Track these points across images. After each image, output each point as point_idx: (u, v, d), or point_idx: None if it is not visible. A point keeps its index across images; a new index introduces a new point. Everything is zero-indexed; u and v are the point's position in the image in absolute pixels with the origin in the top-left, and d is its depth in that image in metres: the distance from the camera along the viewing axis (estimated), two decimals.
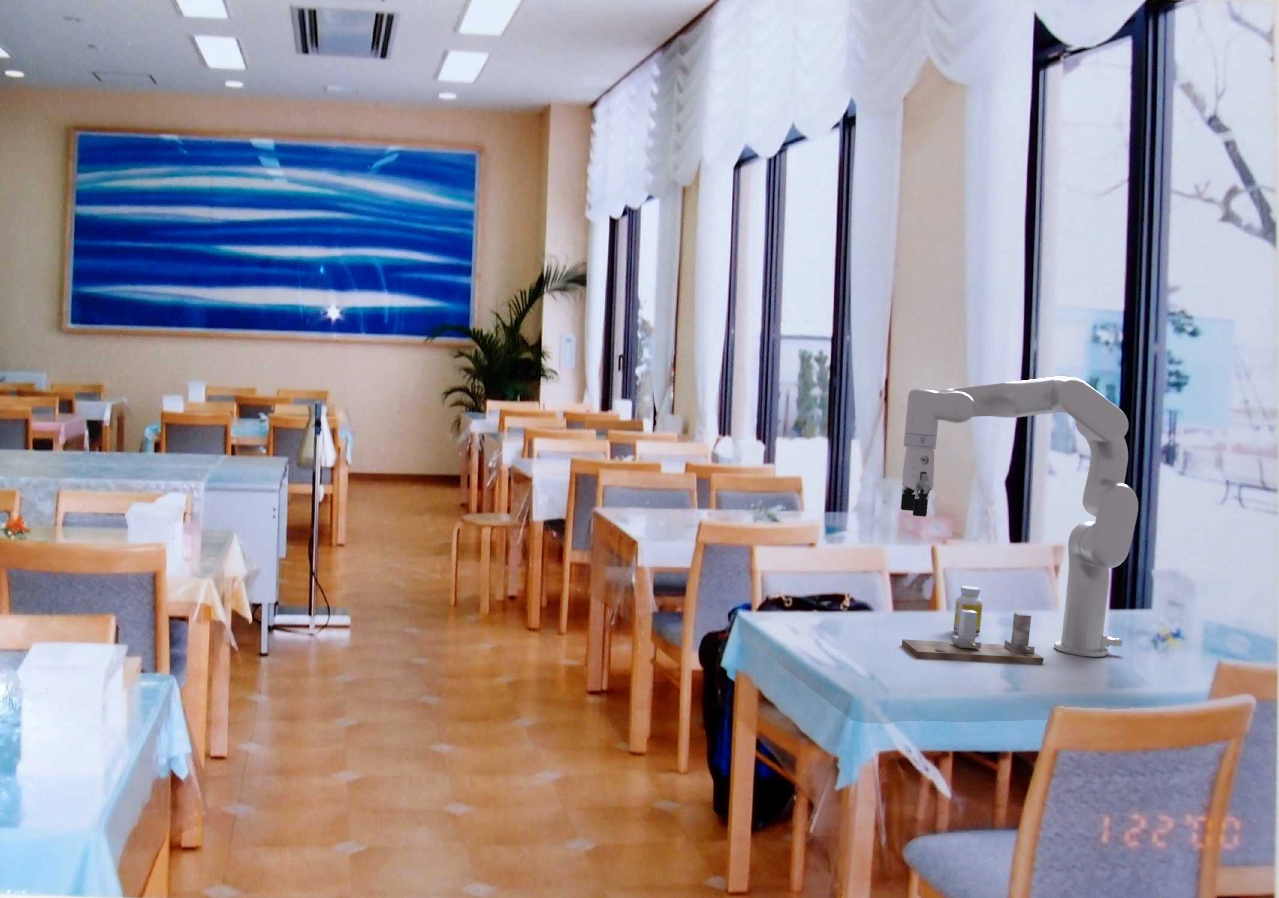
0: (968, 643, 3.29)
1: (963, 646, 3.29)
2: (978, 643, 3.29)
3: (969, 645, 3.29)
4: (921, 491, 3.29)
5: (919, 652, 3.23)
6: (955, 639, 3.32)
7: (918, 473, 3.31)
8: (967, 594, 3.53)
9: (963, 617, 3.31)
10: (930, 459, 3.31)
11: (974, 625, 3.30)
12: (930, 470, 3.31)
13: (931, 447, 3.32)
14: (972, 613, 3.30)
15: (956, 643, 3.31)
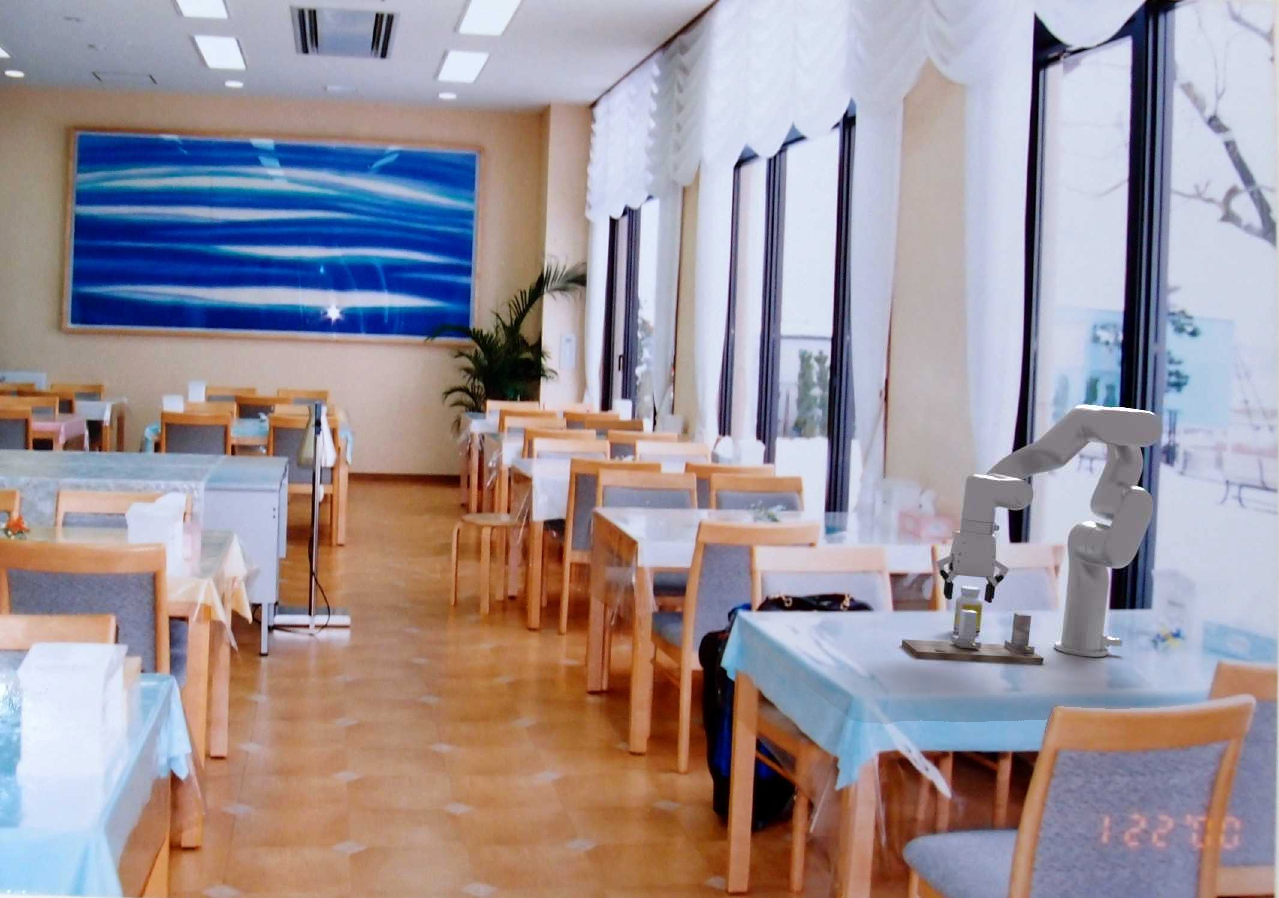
0: (968, 643, 3.29)
1: (963, 646, 3.29)
2: (978, 643, 3.29)
3: (969, 645, 3.29)
4: (1002, 577, 3.31)
5: (919, 652, 3.23)
6: (955, 639, 3.32)
7: None
8: (967, 594, 3.53)
9: (963, 617, 3.31)
10: None
11: (974, 625, 3.30)
12: None
13: None
14: (972, 613, 3.30)
15: (956, 643, 3.31)
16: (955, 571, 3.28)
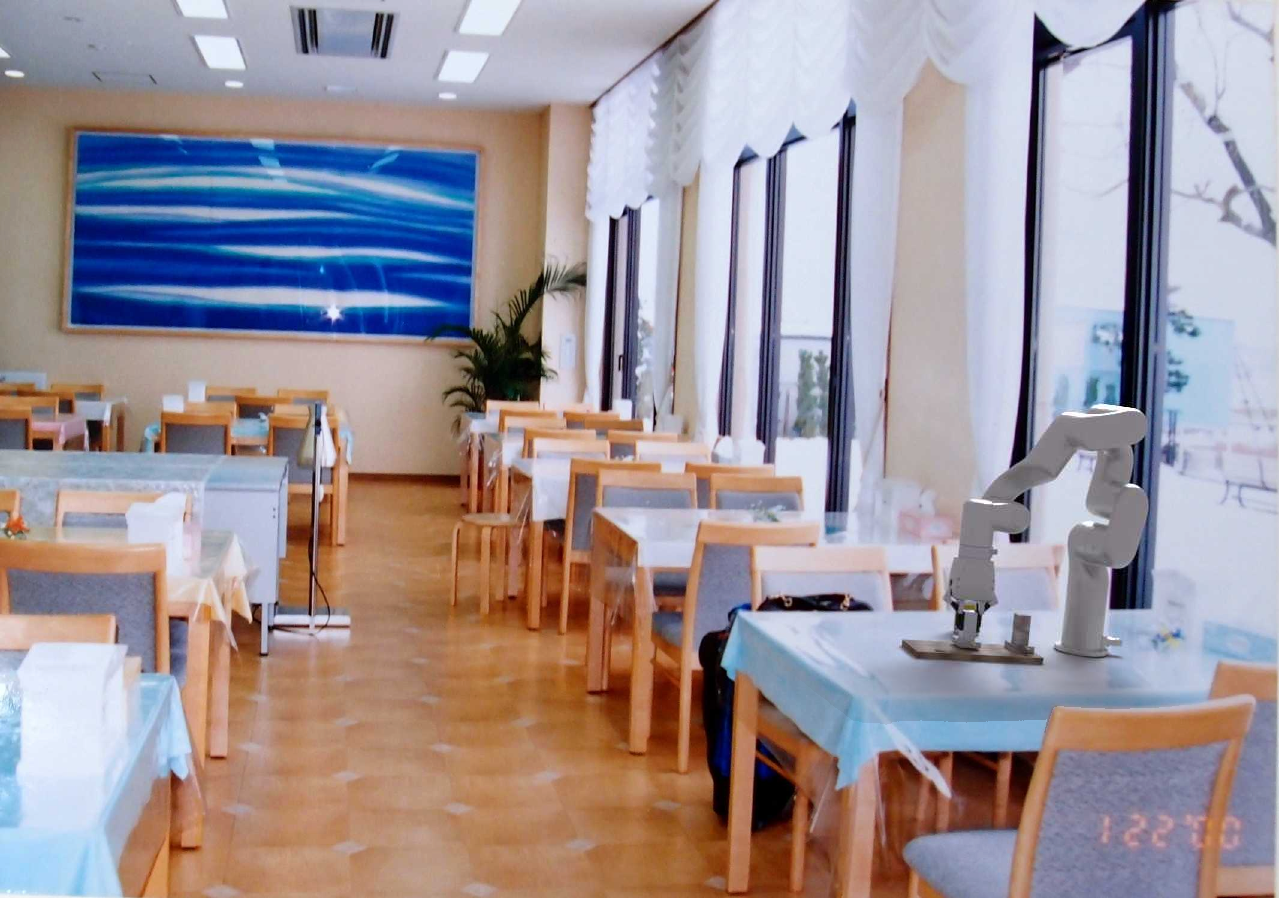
0: (968, 643, 3.29)
1: (963, 646, 3.29)
2: (978, 643, 3.29)
3: (969, 645, 3.29)
4: (989, 606, 3.31)
5: (919, 652, 3.23)
6: (955, 639, 3.32)
7: None
8: None
9: None
10: None
11: (974, 625, 3.30)
12: None
13: None
14: (972, 613, 3.30)
15: (956, 643, 3.31)
16: (954, 596, 3.29)
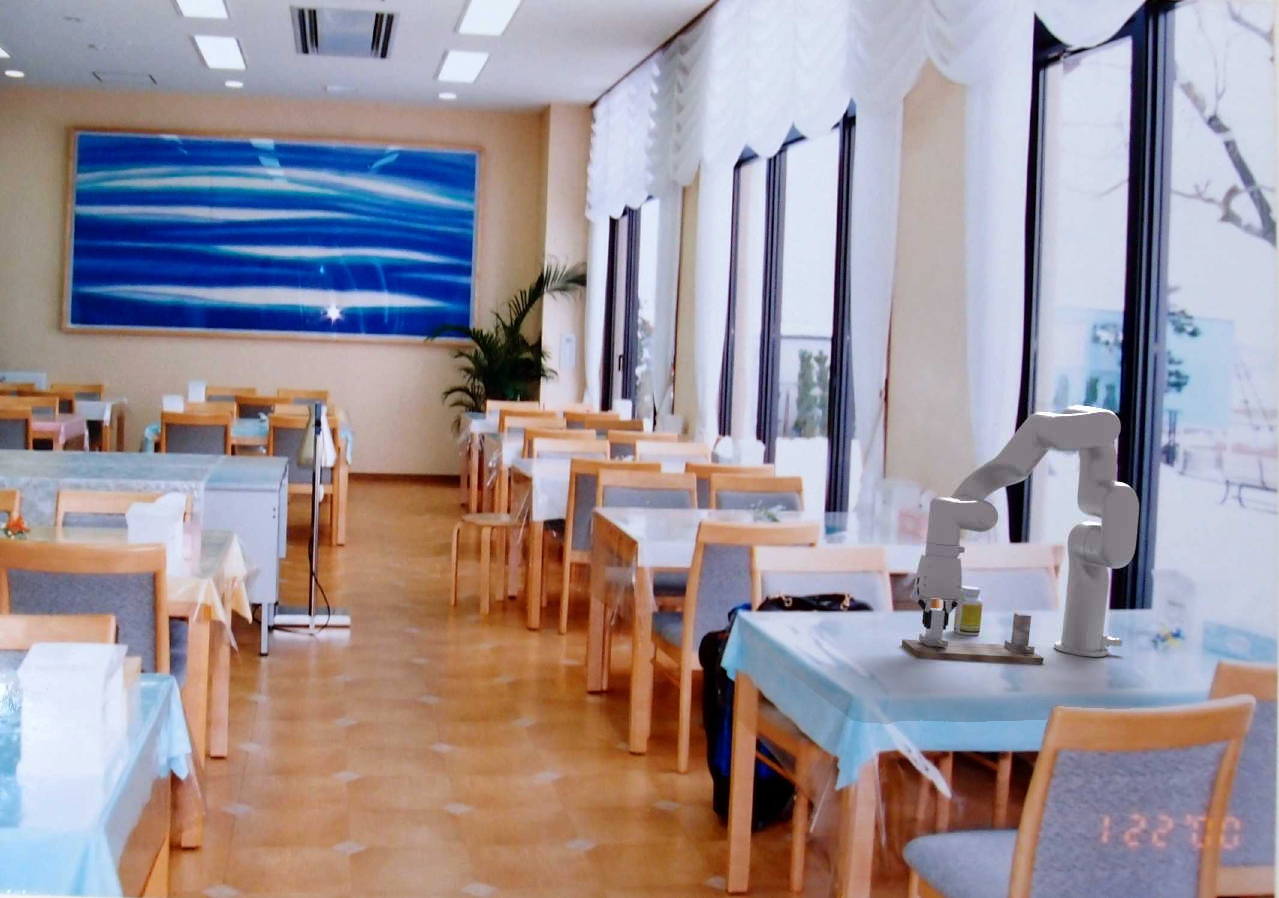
0: (935, 641, 3.28)
1: (930, 644, 3.28)
2: (945, 641, 3.29)
3: (936, 643, 3.28)
4: (956, 604, 3.30)
5: (919, 652, 3.23)
6: (922, 637, 3.31)
7: None
8: (967, 594, 3.53)
9: None
10: None
11: (941, 623, 3.30)
12: None
13: None
14: (939, 611, 3.29)
15: (923, 641, 3.31)
16: (921, 594, 3.28)
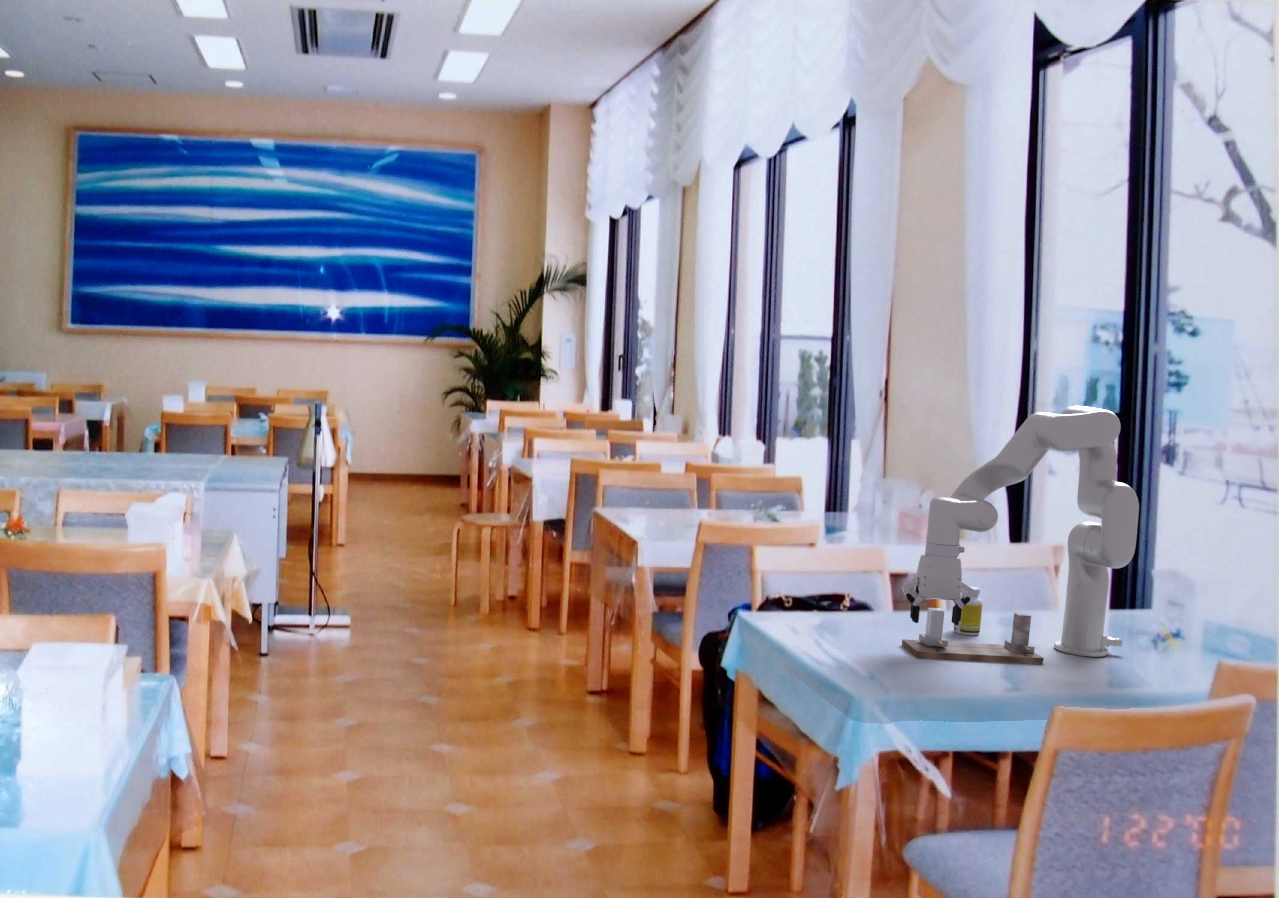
0: (935, 641, 3.28)
1: (930, 644, 3.28)
2: (945, 641, 3.28)
3: (936, 643, 3.28)
4: (968, 599, 3.30)
5: (919, 652, 3.23)
6: (922, 637, 3.31)
7: None
8: None
9: (930, 615, 3.30)
10: None
11: (941, 623, 3.30)
12: None
13: None
14: (939, 611, 3.29)
15: (923, 641, 3.31)
16: (921, 594, 3.28)
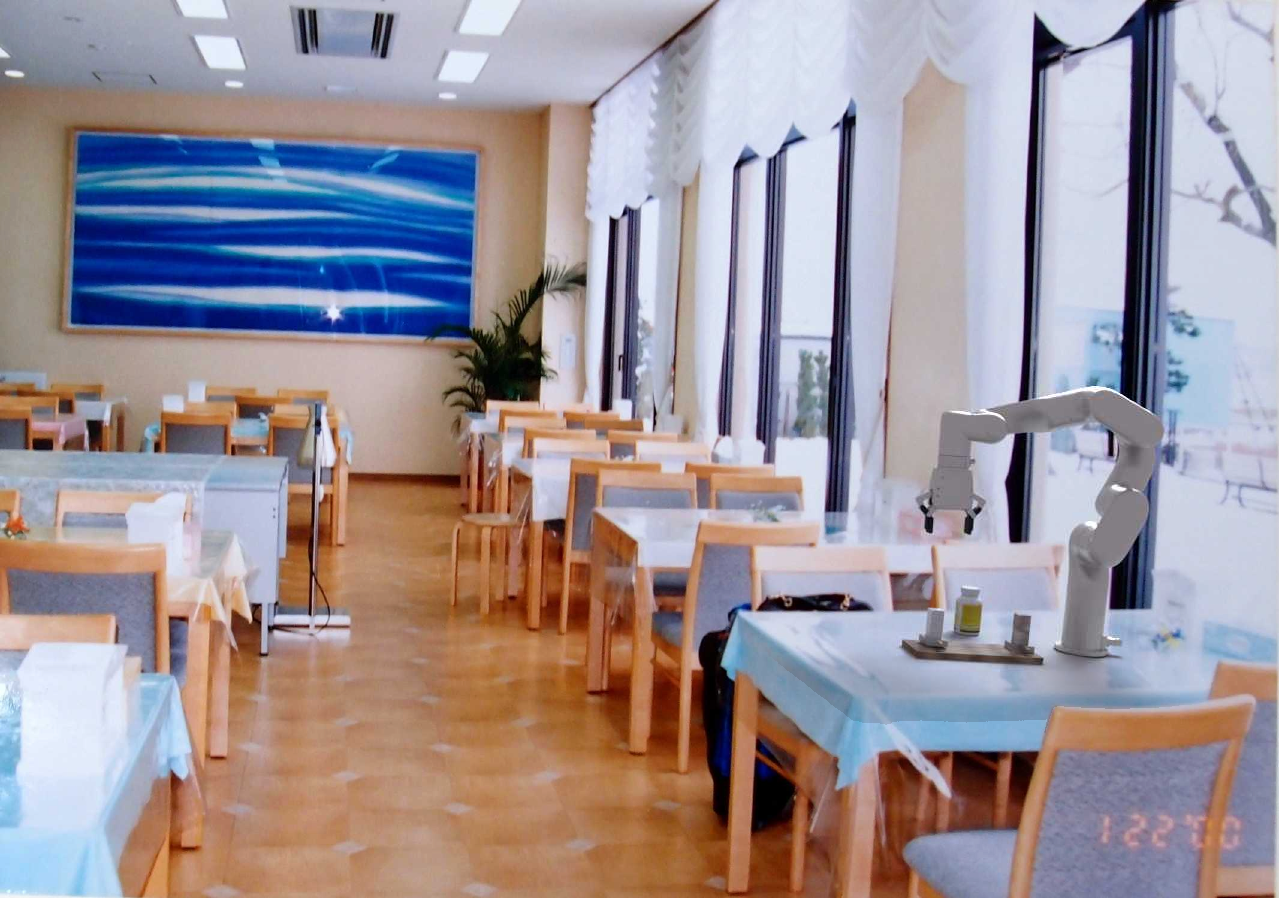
0: (935, 641, 3.28)
1: (930, 644, 3.28)
2: (945, 641, 3.28)
3: (936, 643, 3.28)
4: (980, 509, 3.40)
5: (919, 652, 3.23)
6: (922, 637, 3.31)
7: None
8: (967, 594, 3.53)
9: (930, 615, 3.30)
10: None
11: (941, 623, 3.30)
12: None
13: None
14: (939, 611, 3.29)
15: (923, 641, 3.31)
16: (935, 505, 3.37)
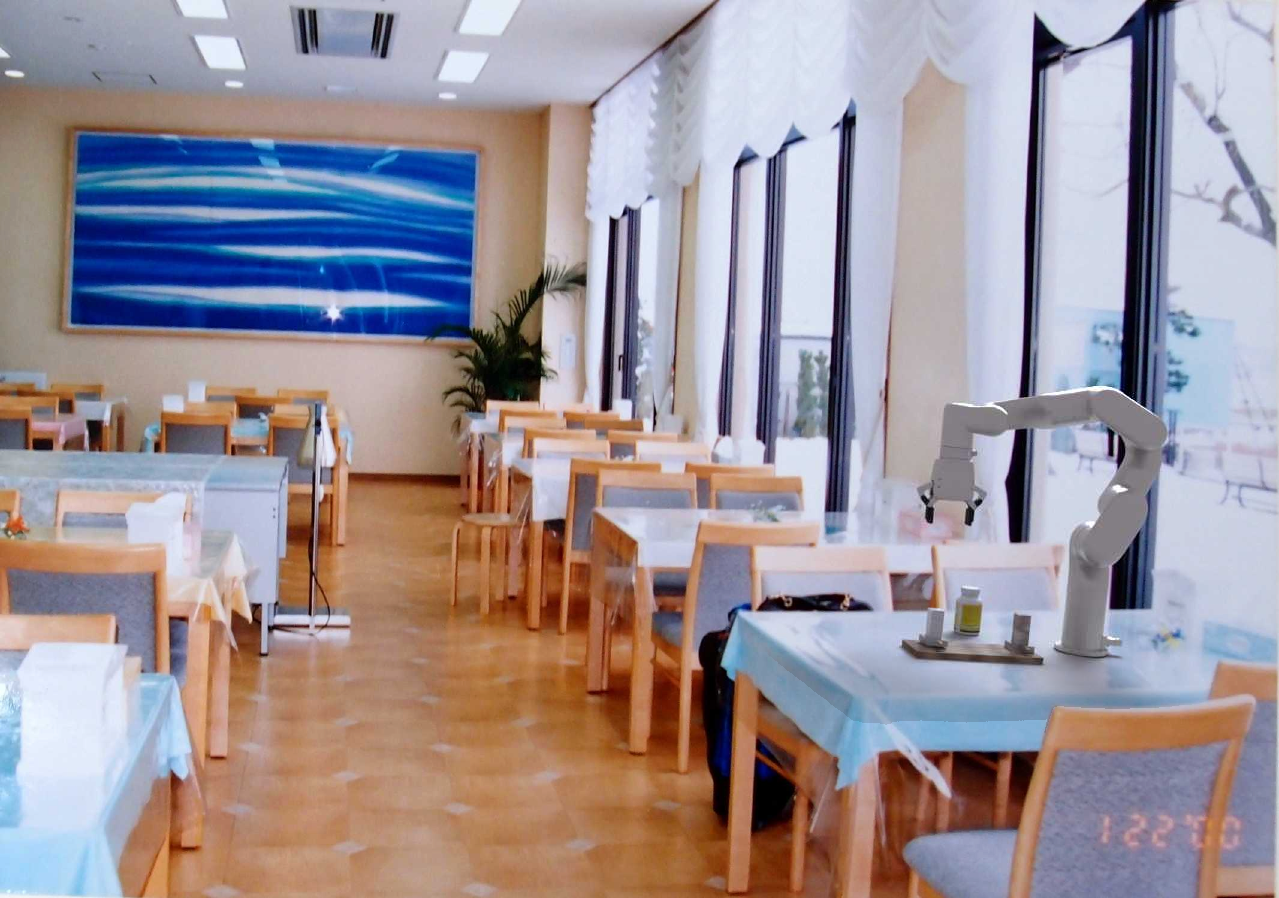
0: (935, 641, 3.28)
1: (930, 644, 3.28)
2: (945, 641, 3.28)
3: (936, 643, 3.28)
4: (981, 501, 3.43)
5: (919, 652, 3.23)
6: (922, 637, 3.31)
7: None
8: (967, 594, 3.53)
9: (930, 615, 3.30)
10: None
11: (941, 623, 3.30)
12: None
13: None
14: (939, 611, 3.29)
15: (923, 641, 3.31)
16: (935, 496, 3.41)
